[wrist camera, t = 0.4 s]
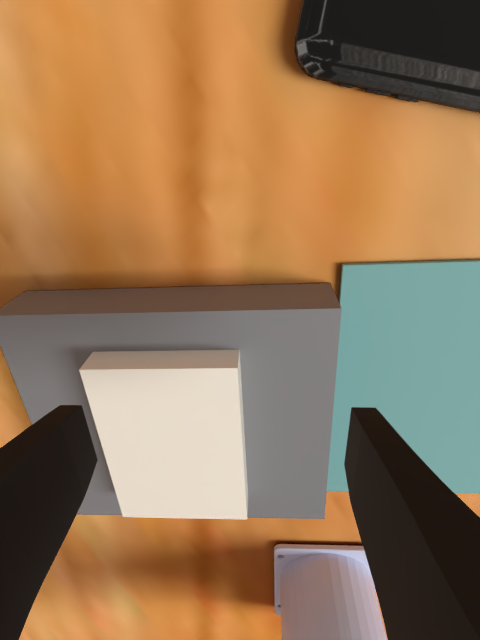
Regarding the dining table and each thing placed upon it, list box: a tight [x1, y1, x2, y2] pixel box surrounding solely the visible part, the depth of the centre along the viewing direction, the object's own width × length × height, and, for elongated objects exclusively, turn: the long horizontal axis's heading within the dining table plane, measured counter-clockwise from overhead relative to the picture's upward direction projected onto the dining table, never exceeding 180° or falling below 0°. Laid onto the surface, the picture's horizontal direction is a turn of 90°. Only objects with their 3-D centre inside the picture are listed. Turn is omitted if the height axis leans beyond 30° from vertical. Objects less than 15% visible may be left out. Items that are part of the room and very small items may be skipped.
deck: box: [0, 283, 342, 519], centre depth 21 cm, size 14×16×3 cm
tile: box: [79, 350, 248, 519], centre depth 19 cm, size 10×7×2 cm
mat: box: [327, 259, 480, 494], centre depth 21 cm, size 16×12×1 cm
